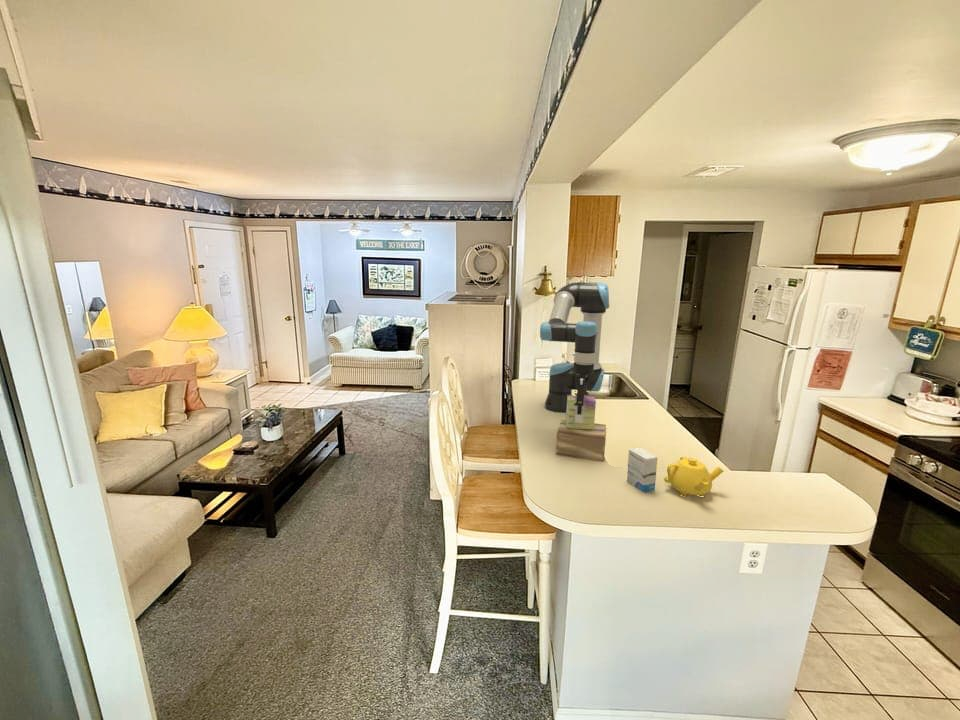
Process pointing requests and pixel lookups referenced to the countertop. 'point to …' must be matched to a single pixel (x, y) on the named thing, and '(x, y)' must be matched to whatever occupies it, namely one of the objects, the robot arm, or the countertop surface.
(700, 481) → the teapot
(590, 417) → the box
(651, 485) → the ink box
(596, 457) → the brown wooden crate
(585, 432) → the lid
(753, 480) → the countertop surface
